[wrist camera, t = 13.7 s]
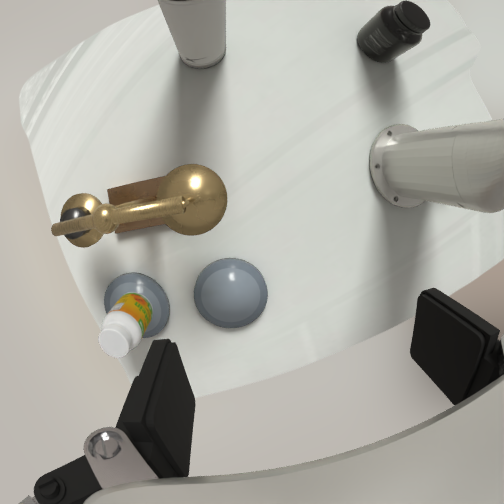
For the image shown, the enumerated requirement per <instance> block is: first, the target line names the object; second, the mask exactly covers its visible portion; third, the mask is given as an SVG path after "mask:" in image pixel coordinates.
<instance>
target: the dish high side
mask: <svg viewBox="0 0 504 504" xmlns="http://www.w3.org/2000/svg"><path fill="white" fill-rule="evenodd" d="M267 297H268V292H267V286H266V283H265V280H264V278H263V276H262V274H261V273H260V271H259V270H258V269H257V268H256V267H255V266H253V265H252V264H250V263H249V262H246V261H244V260H241V259H236V258H225V259H220V260H217V261H215V262H213V263H211V264H209V265H208V266H207V267H206V268H205V269H204V270H203V271H202V272H201V273H200V275H199V276H198V279H197V281H196V285H195V288H194V300H195V304H196V307H197V309H198V310H199V312H200V313H201V315H202V316H203V317H204V318H205V319H206V320H208V321H209V322H211V323H212V324H214V325H217V326H220V327H224V328H237V327H242V326H245V325H247V324H249V323H251V322H253V321H254V320H255V319H257V318H258V317H259V315H260V314H261V313H262V312H263V310H264V308H265V306H266V303H267Z"/></svg>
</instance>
